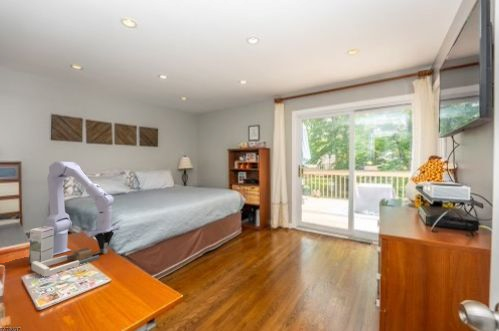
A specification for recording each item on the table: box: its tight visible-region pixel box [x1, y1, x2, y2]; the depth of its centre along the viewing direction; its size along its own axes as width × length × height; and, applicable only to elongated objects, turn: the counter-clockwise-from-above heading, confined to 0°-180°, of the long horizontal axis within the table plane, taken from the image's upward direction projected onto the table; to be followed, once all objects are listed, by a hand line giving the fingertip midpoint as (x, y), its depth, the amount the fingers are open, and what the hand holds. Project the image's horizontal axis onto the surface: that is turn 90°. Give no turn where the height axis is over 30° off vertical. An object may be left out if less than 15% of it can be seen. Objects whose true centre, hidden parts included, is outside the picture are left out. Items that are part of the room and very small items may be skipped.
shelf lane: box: [30, 254, 79, 278], centre depth 92 cm, size 12×12×3 cm
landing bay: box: [66, 253, 100, 266], centre depth 101 cm, size 12×8×2 cm, turn 62°
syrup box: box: [29, 225, 54, 264], centre depth 98 cm, size 6×6×14 cm
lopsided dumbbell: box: [72, 242, 109, 262], centre depth 104 cm, size 6×12×5 cm, turn 152°
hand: (103, 247), depth 108 cm, fingers closed on lopsided dumbbell
